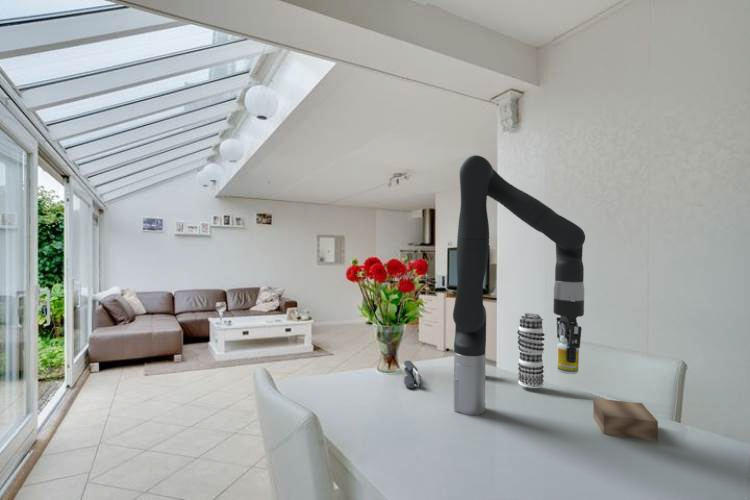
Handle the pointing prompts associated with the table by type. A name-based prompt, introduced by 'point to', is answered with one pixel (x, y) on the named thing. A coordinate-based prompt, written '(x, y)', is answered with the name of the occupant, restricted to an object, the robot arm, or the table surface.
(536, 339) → the decorative candle
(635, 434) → the brown wooden block
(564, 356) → the supplement bottle
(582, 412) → the table surface
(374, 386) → the table surface
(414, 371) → the can opener
